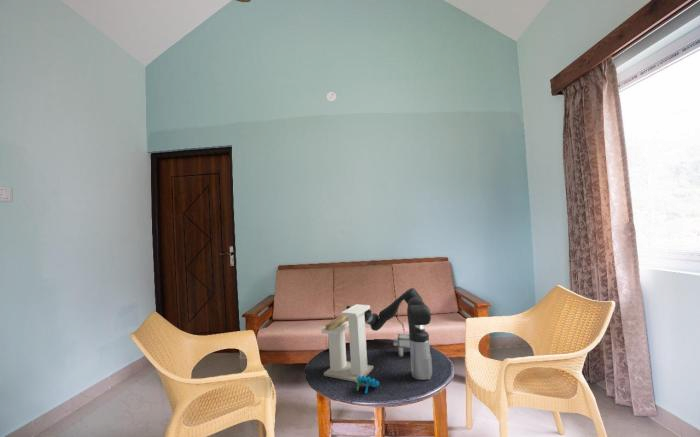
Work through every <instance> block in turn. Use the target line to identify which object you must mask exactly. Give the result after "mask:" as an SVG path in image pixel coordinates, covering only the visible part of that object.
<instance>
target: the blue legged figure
mask: <svg viewBox="0 0 700 437" xmlns="http://www.w3.org/2000/svg"><path fill="white" fill-rule="evenodd" d="M354 383H356V386H357V387H356V392H359V390H360V387H365V391H364V394H366V395H367V394H368V391H369V387H371V388H373V387H376V388H377V387H378V386H380V382H379V380H376V379H375V378H371V377H370V376H366V377H365V376H362V377H361V376H359V378H358V377H357V379H356V381H355V382H354Z"/></svg>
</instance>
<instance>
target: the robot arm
mask: <svg viewBox="0 0 700 437" xmlns="http://www.w3.org/2000/svg"><path fill="white" fill-rule="evenodd" d="M403 301H405V303H406V304H407V308H406V312H407V314H406V315H407V322H408V324H407V325H408V334H409V340H410V348H409V352H410V353H409V354H410V356H409V357H410V370H411V377H412V378H414V379H416V380H420V381H423V380H424V381H425V380H428V381H429V380H431V378H432V376H433V363H432V362H433V361H432V359H433V358H432V354H431V350H430V349H431V348H430V347H431V346H430V337H429V336H430V335H429V333H428V332H427V331H426V330H425V331H424V330H421V329H418V328H417V327H416V326H415V325H424V326H426V325H427V326H428V325H429V324H430V322H431V320H432V313H431V310H430V308H429V306H428V305H427V304H425V302H424V301H423V298H422V296H421V295H420V294H419V293H418V291H417V290H416V288H414V287H411V288H409V289H407V290H405V292H403V293H402V294H401V295H400V296H399V297H398V298H396V299H395V300H394V301H392V302H391V303H390V304H389V305H388V306H386V307H385V308H384V309H382V310H380V311H379V313H378V314H377V313H372V310H371V309H368V310H367V311H365V312H364V316H365V324H367V325H370V326H369V327H370V328H371V330H372V331H375V332H377V331H378V330H380V329H382V327H384V325H385V324H386V322H388V321H389V320H391V319H393V318H395V316H396V314H397V313H398V310H399V307H400V305H401V303H403ZM350 307H351V306H349V305H347V306H346V310H347V309H348V308H350Z"/></svg>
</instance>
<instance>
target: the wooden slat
mask: <svg viewBox="0 0 700 437" xmlns="http://www.w3.org/2000/svg"><path fill="white" fill-rule="evenodd" d="M346 321H347V322H349V321H348V316H341V315H339V316H337V317H335V318H334V319H331V321H329V322H327V323H325V327H326V330H328V331H332V330H333V329H335V328H336V327H338V326H340V325H341V324H343V323H344V322H346Z"/></svg>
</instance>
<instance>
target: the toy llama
mask: <svg viewBox="0 0 700 437" xmlns="http://www.w3.org/2000/svg"><path fill="white" fill-rule="evenodd" d="M415 326H416V327H417V328H418V329H421V330H424V331H426V329H425V325H415ZM393 346H396V347H397V350H398V351H397V352H398V353H397V354H398V358H403V357H404V350H405V349H407V348H408V349H410V340H409V333H397V339H393Z"/></svg>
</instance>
